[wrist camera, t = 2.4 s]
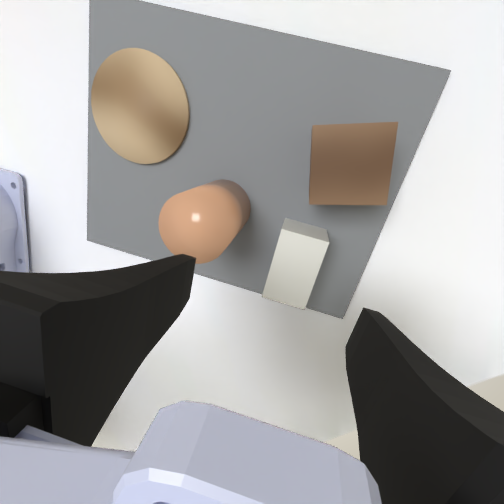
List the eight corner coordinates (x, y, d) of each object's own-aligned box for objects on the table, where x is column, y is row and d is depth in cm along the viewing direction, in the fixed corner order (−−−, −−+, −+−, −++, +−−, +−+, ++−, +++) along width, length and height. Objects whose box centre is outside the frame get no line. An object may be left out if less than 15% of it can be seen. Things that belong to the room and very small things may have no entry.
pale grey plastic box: (304, 289, 22) (304, 310, 19) (267, 278, 22) (261, 296, 19) (326, 229, 20) (329, 242, 17) (285, 217, 20) (281, 228, 17)
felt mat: (342, 316, 22) (342, 318, 22) (90, 238, 24) (87, 240, 24) (448, 72, 16) (451, 70, 16) (94, -8, 18) (89, -11, 17)
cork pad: (181, 174, 20) (179, 175, 20) (94, 150, 21) (90, 150, 21) (197, 63, 18) (194, 61, 17) (96, 39, 18) (91, 36, 18)
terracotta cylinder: (244, 239, 21) (221, 272, 16) (194, 225, 22) (154, 252, 16) (256, 187, 20) (236, 203, 14) (202, 173, 20) (162, 182, 15)
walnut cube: (371, 193, 18) (386, 205, 15) (308, 193, 19) (309, 204, 16) (378, 127, 17) (398, 121, 13) (311, 129, 18) (312, 125, 14)
